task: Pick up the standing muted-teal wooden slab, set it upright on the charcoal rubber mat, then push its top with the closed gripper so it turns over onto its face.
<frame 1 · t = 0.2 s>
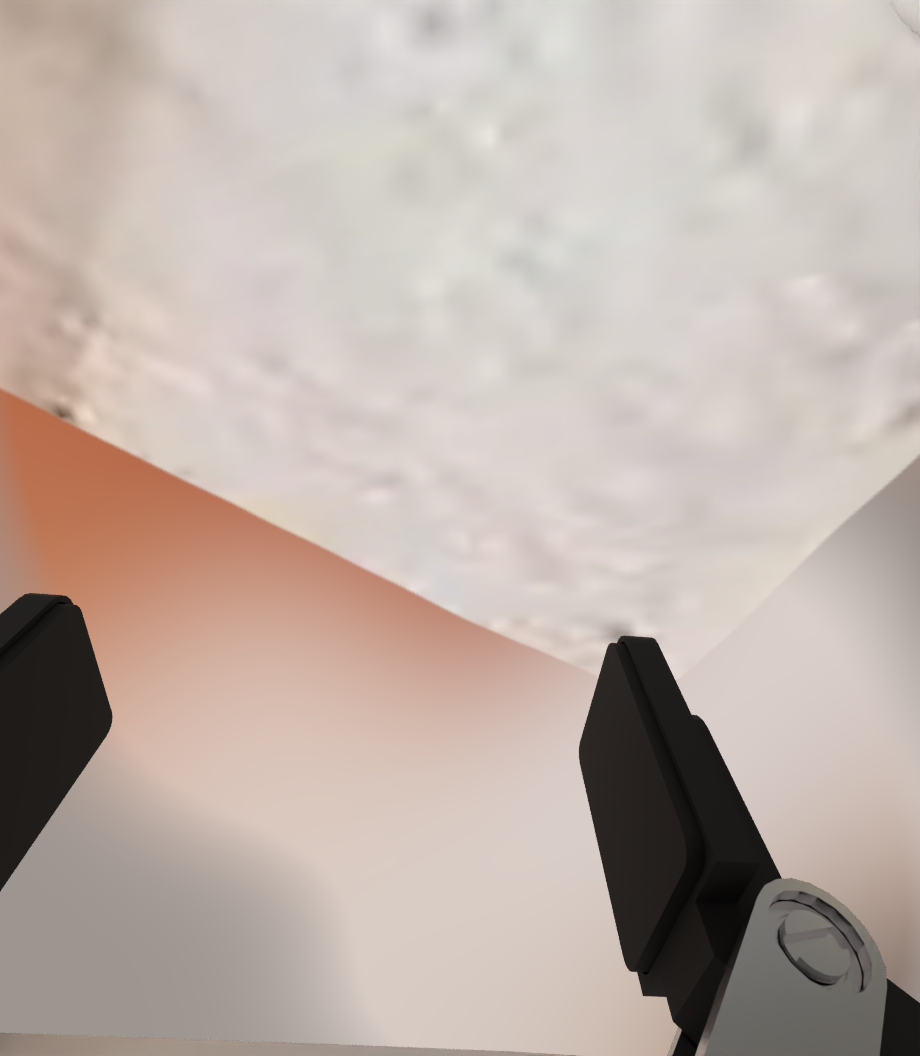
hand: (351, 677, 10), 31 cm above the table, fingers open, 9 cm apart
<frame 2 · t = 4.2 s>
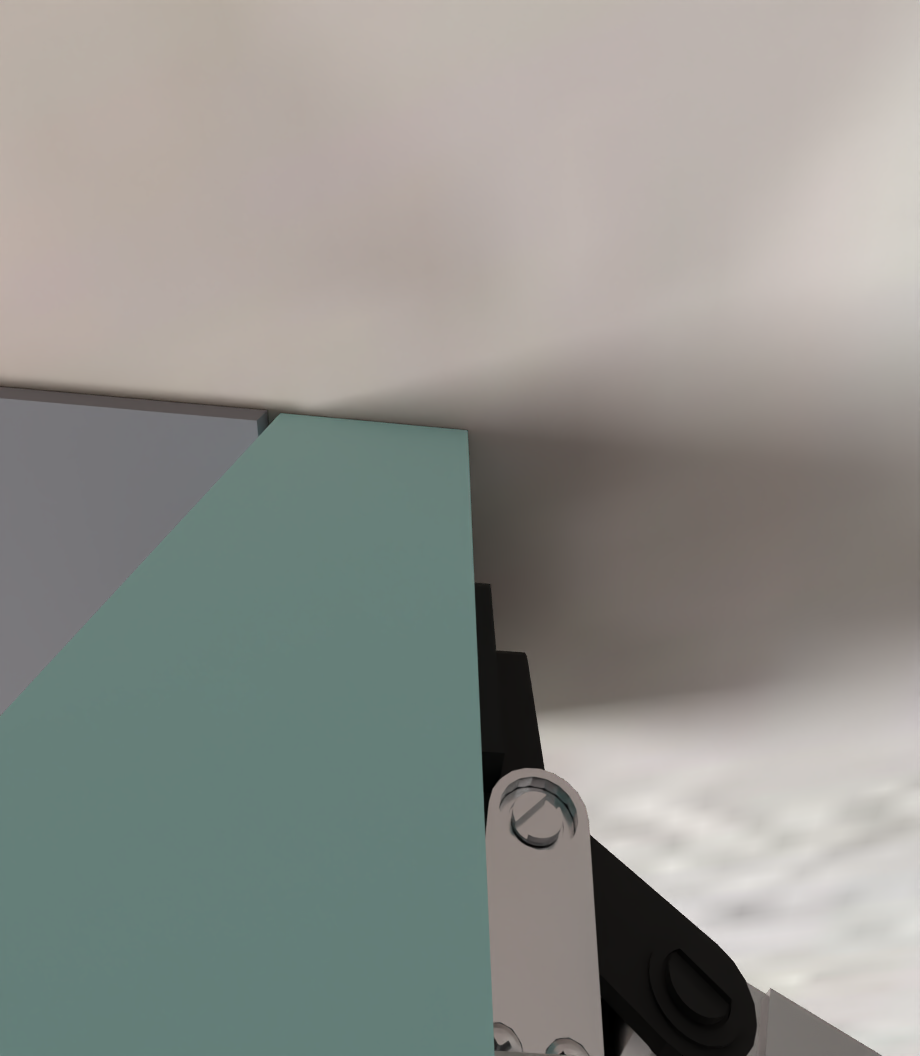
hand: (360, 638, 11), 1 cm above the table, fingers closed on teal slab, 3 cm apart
teal slab: (370, 594, 12), on the table, touching gripper
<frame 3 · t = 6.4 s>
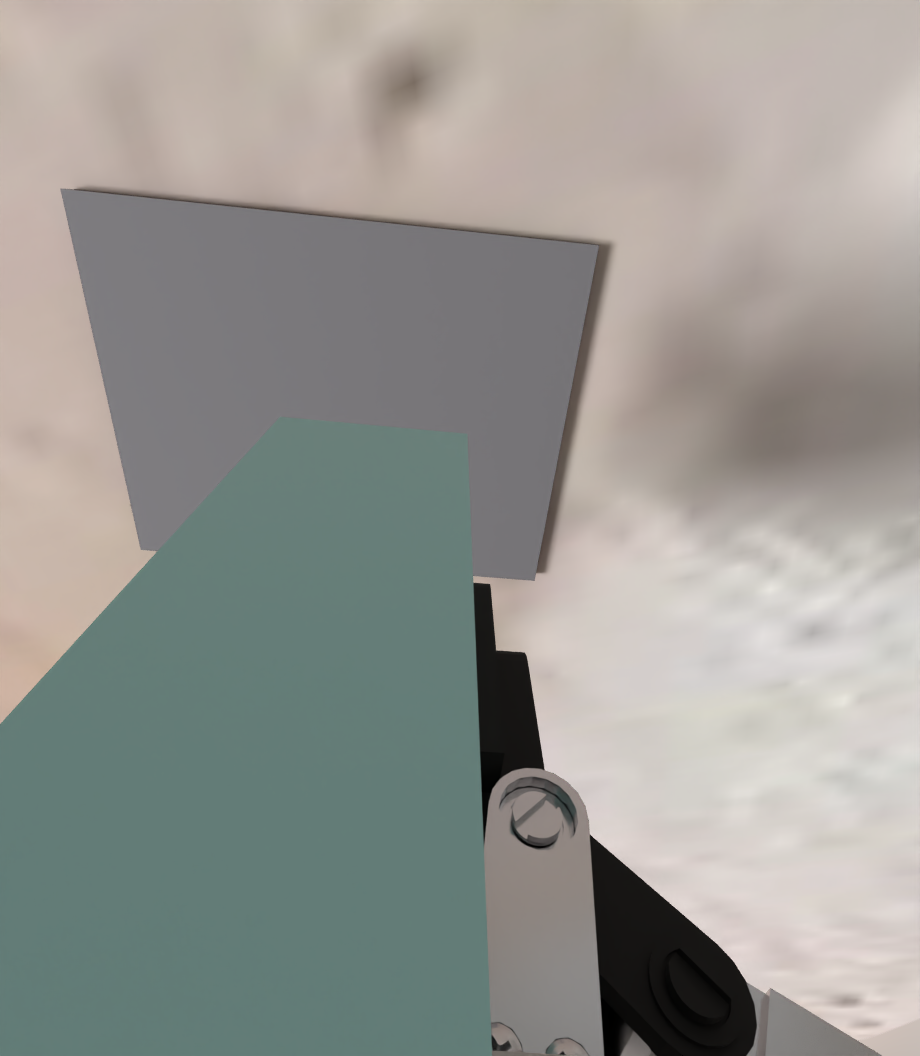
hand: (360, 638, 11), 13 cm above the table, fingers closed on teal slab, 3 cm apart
teal slab: (370, 597, 12), point 12 cm above the table, touching gripper
mat: (341, 413, 23), on the table
when the fingers open (3 cm above the table, at t = 8.5 s): teal slab stays where it is, resting on mat.
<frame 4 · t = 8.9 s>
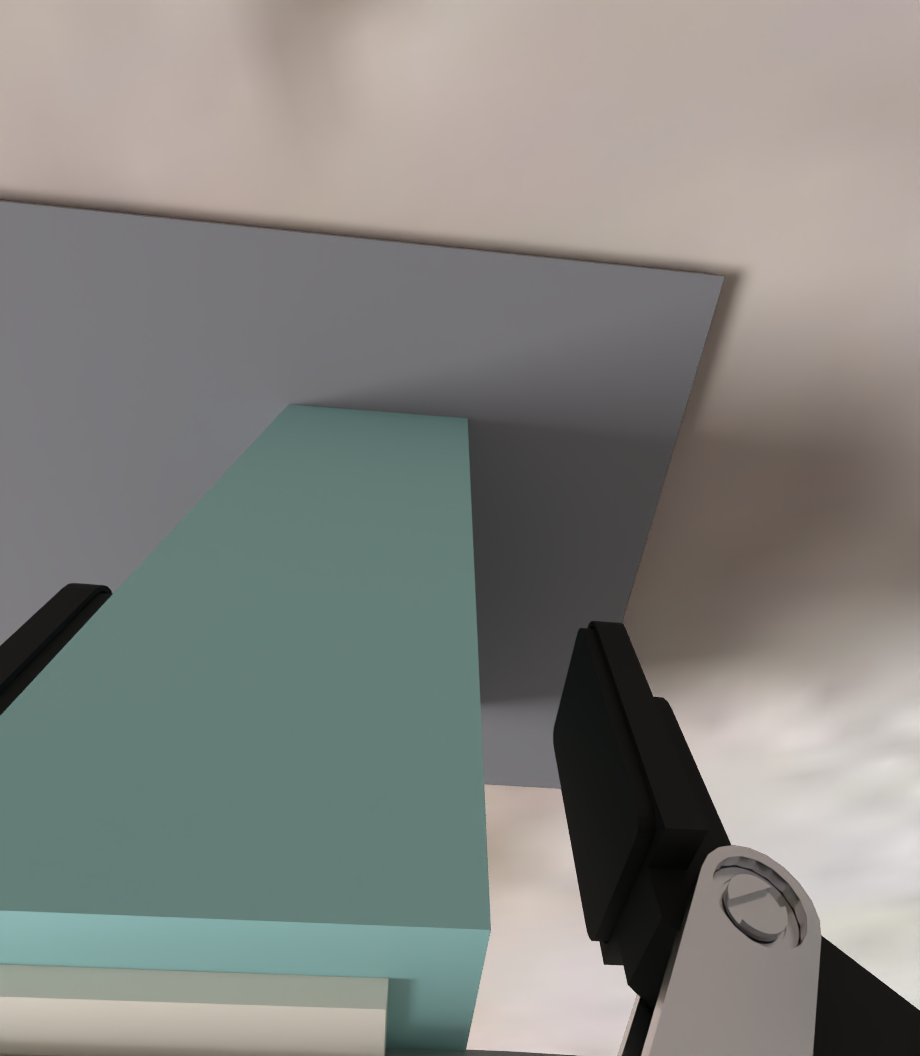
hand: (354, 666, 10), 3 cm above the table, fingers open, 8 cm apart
teal slab: (376, 579, 13), point 1 cm above the table, touching mat
mat: (251, 556, 13), on the table
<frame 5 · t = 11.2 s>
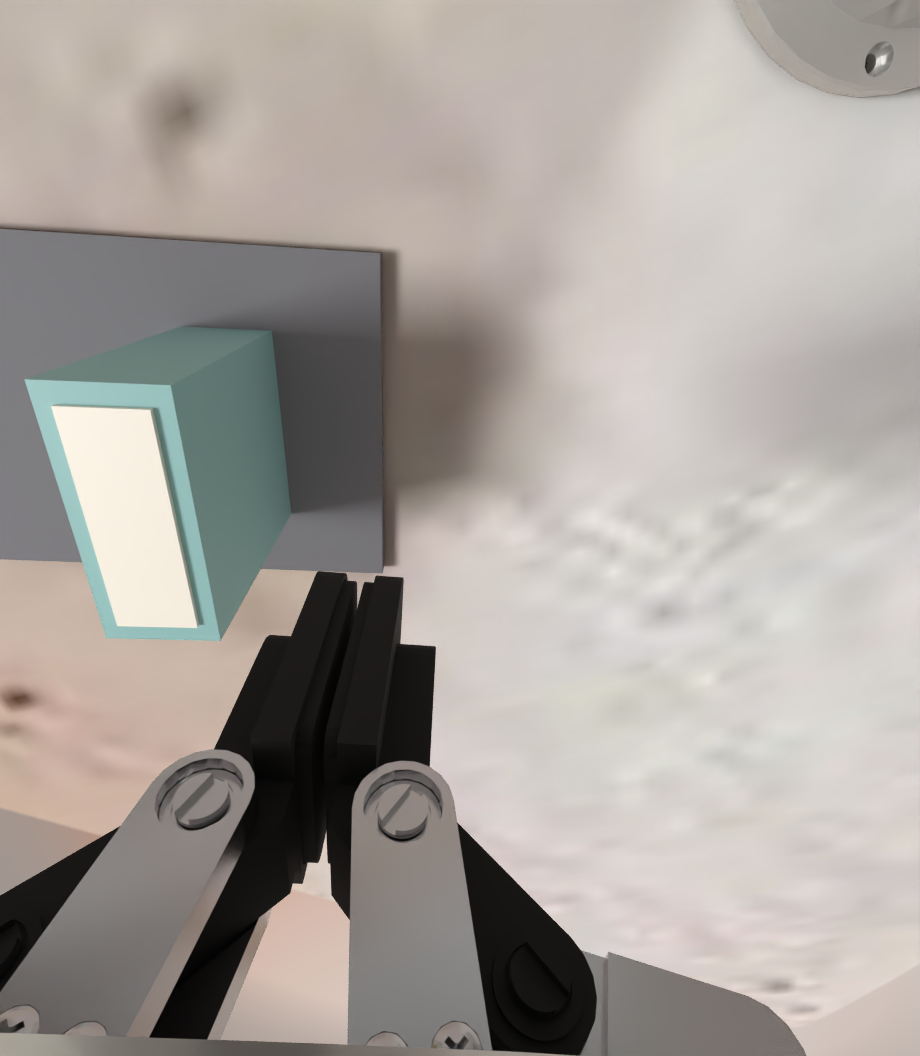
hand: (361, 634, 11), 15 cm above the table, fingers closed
teal slab: (240, 427, 23), point 1 cm above the table, touching mat
mat: (172, 420, 24), on the table
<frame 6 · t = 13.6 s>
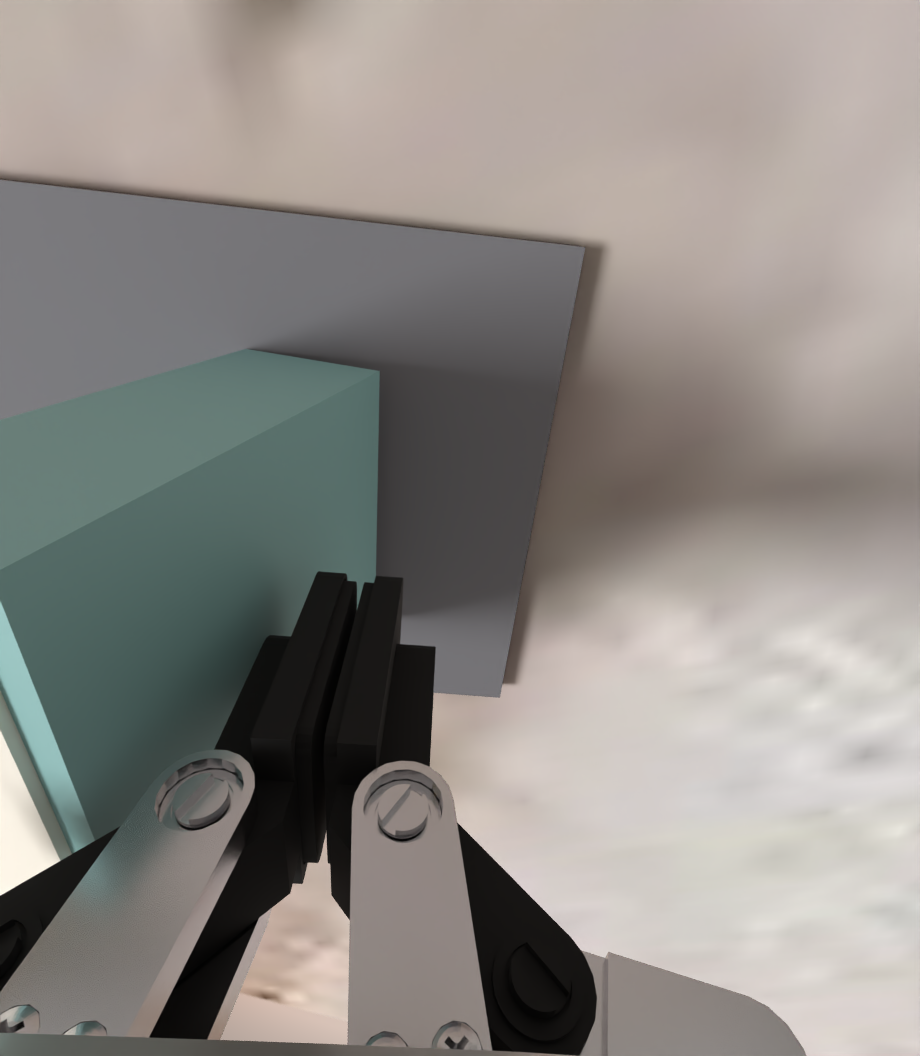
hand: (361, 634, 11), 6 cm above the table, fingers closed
teal slab: (317, 509, 15), point 1 cm above the table, tilted 16°, touching gripper, mat
mat: (220, 482, 16), on the table
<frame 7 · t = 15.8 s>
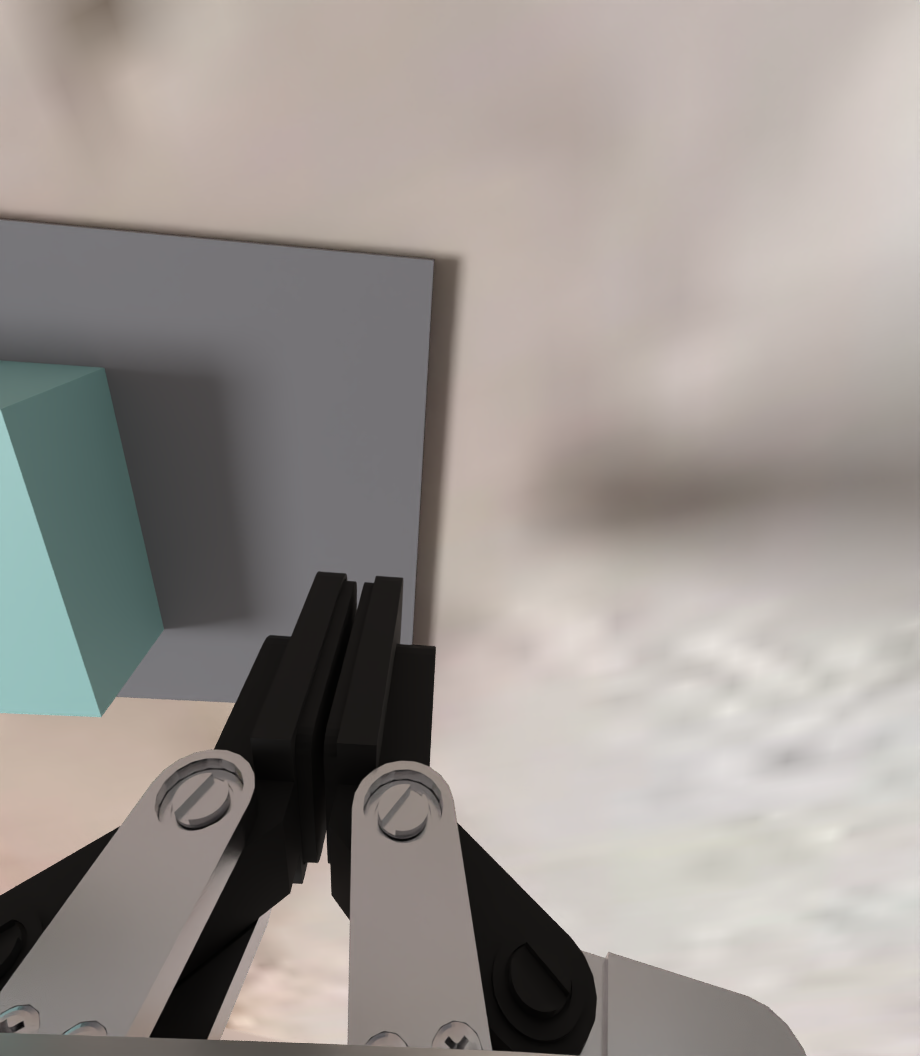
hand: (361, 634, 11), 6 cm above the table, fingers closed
teal slab: (102, 546, 14), point 2 cm above the table, tilted 90°, touching mat
mat: (102, 502, 16), on the table
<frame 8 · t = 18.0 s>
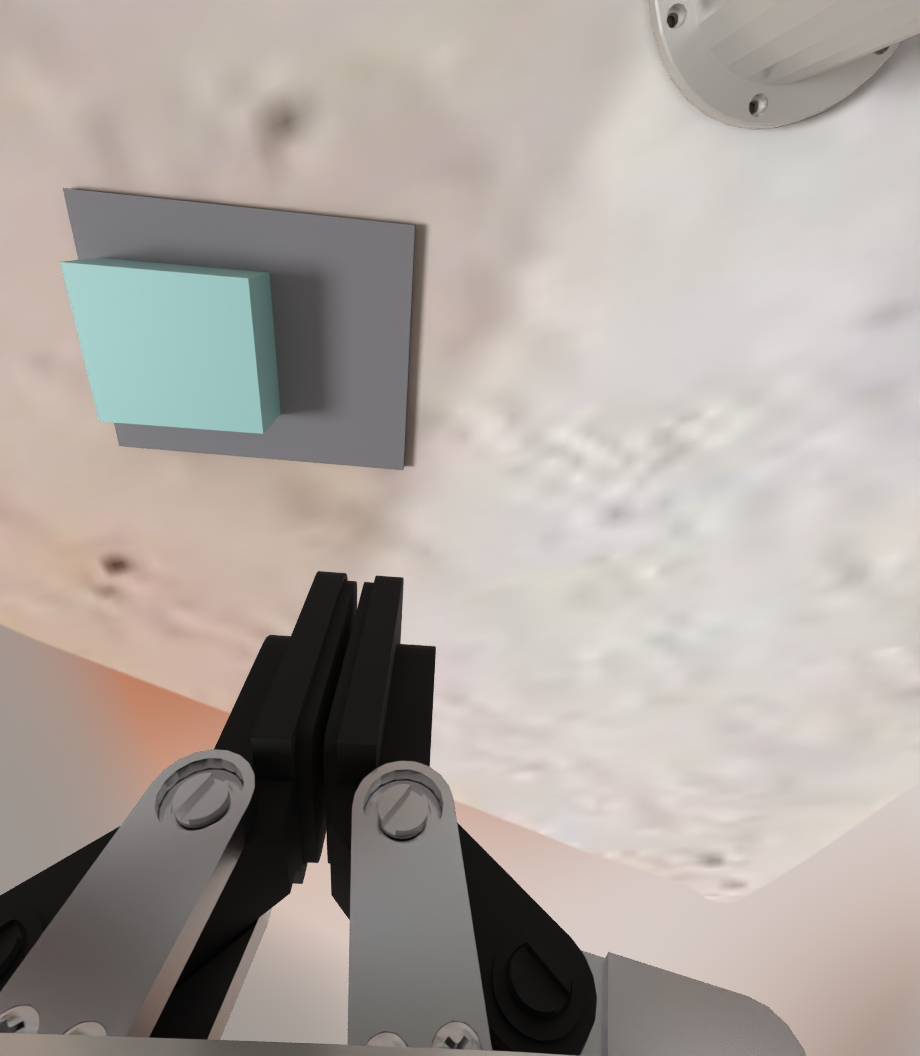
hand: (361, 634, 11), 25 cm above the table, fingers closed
teal slab: (266, 354, 31), point 2 cm above the table, tilted 90°, touching mat
mat: (256, 343, 33), on the table
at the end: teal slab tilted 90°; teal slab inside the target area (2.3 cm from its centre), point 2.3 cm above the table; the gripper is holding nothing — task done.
